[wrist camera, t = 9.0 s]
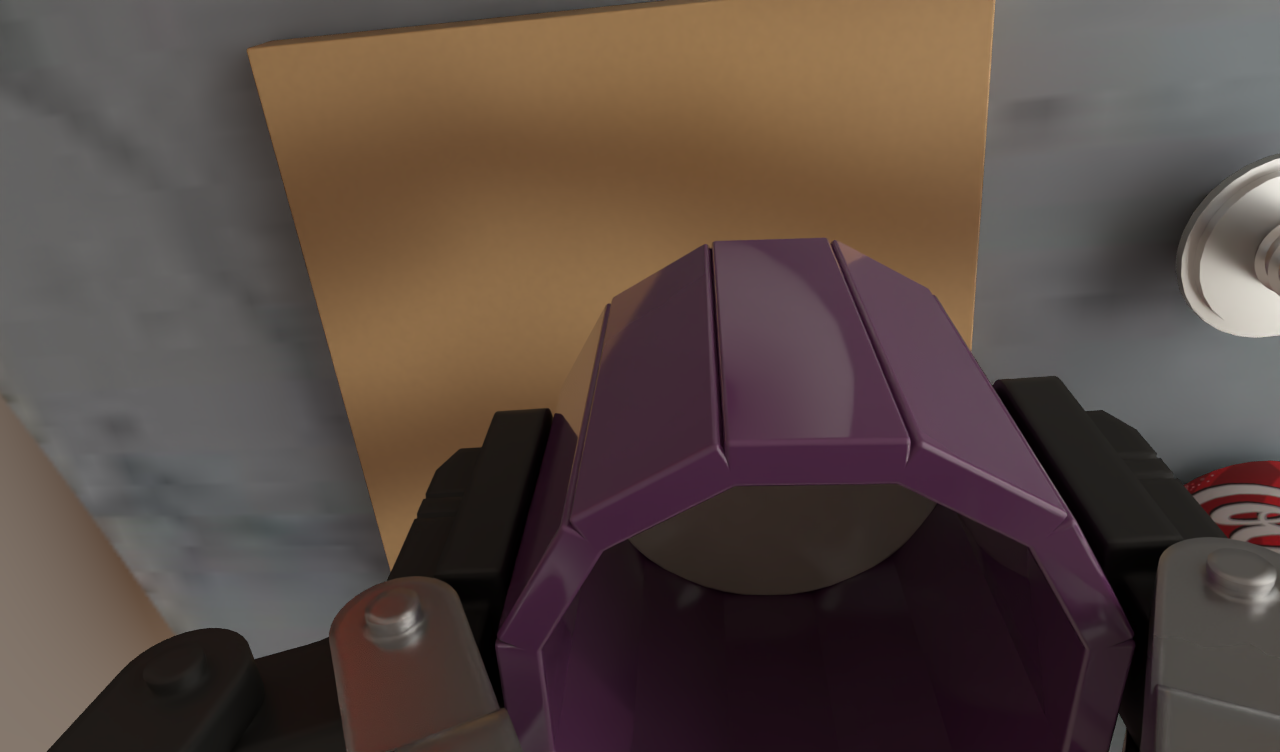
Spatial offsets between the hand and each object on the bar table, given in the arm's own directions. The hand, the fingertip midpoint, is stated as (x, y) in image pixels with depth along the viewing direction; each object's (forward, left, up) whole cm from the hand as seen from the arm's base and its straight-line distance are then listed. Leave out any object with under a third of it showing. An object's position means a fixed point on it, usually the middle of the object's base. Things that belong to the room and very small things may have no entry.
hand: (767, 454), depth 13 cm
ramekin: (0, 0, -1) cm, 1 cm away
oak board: (-2, +8, -14) cm, 16 cm away
